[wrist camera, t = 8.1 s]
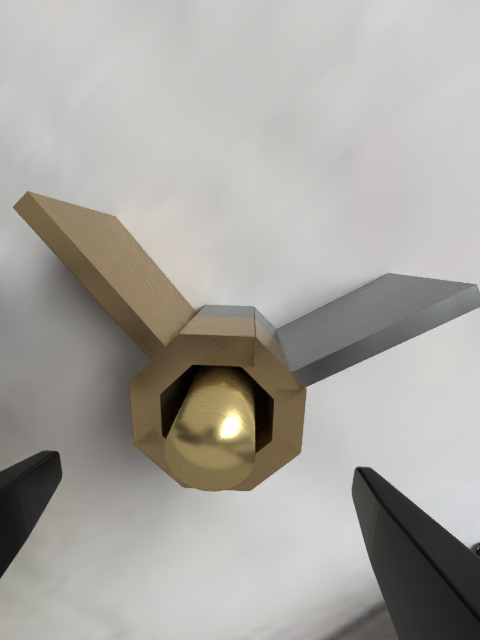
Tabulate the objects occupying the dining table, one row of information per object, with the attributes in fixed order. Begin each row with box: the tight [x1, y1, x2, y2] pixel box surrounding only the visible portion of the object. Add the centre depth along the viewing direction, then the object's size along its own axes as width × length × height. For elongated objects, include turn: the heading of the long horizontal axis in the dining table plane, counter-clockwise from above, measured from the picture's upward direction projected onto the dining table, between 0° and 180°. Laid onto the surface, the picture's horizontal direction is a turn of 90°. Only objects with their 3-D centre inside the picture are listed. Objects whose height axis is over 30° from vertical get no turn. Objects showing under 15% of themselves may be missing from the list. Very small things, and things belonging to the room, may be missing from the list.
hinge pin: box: [165, 365, 255, 491], centre depth 13 cm, size 3×3×8 cm
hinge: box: [13, 191, 480, 491], centre depth 13 cm, size 12×16×6 cm
